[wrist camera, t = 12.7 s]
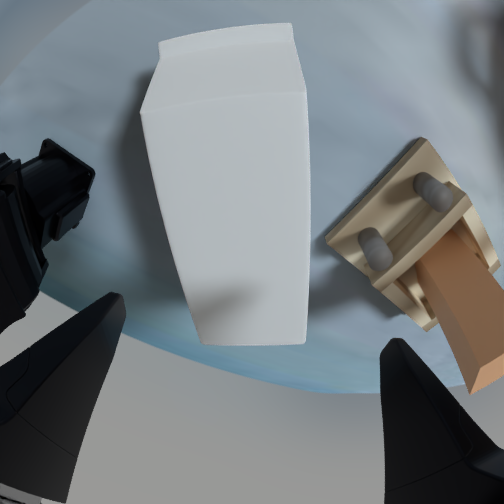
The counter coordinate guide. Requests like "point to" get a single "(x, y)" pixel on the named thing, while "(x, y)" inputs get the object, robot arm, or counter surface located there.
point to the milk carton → (234, 179)
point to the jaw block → (465, 308)
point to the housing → (409, 228)
